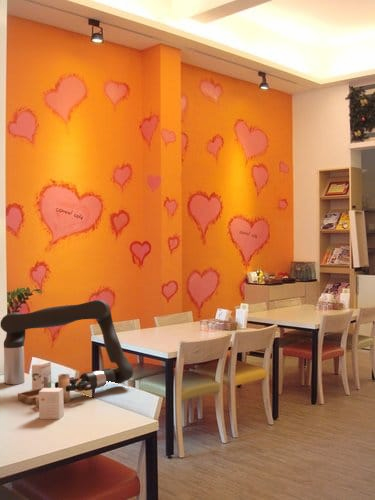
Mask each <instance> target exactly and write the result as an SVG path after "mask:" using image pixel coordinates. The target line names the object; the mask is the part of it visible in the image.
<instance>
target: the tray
mask: <svg viewBox="0 0 375 500" xmlns="http://www.w3.org/2000/svg"><path fill="white" fill-rule="evenodd" d="M40 390H42V389H37V390H33V391H32V390H29V391H23V392H19V393H17V400H18V401H21V402H23V403H26V404H29V405H32V406H33V405H36V396H39V391H40Z"/></svg>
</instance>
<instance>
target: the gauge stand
mask: <svg viewBox="0 0 375 500" xmlns="http://www.w3.org/2000/svg"><path fill="white" fill-rule="evenodd" d="M44 388H48V376H45V377H44ZM35 406H36V407H37V408H39V396H36V404H35Z"/></svg>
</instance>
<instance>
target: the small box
mask: <svg viewBox="0 0 375 500" xmlns="http://www.w3.org/2000/svg"><path fill="white" fill-rule="evenodd" d="M64 404H65V403H64V400H63V388H55V387H49V388H43V389H42V390H40V391H39V407H38V416H39V420H60V419H61V418H62V417H63V416H64V415H65V407H64Z"/></svg>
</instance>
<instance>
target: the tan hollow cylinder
mask: <svg viewBox="0 0 375 500" xmlns="http://www.w3.org/2000/svg"><path fill="white" fill-rule="evenodd" d="M57 378H58V379H57V382H58V388H63V400H64V404H65V403H69V402H70V401H71V391H68V392H67V391H66V386H69V385H71V384H70V378H71V376H70V374H69V373H61V374H58V375H57Z"/></svg>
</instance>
